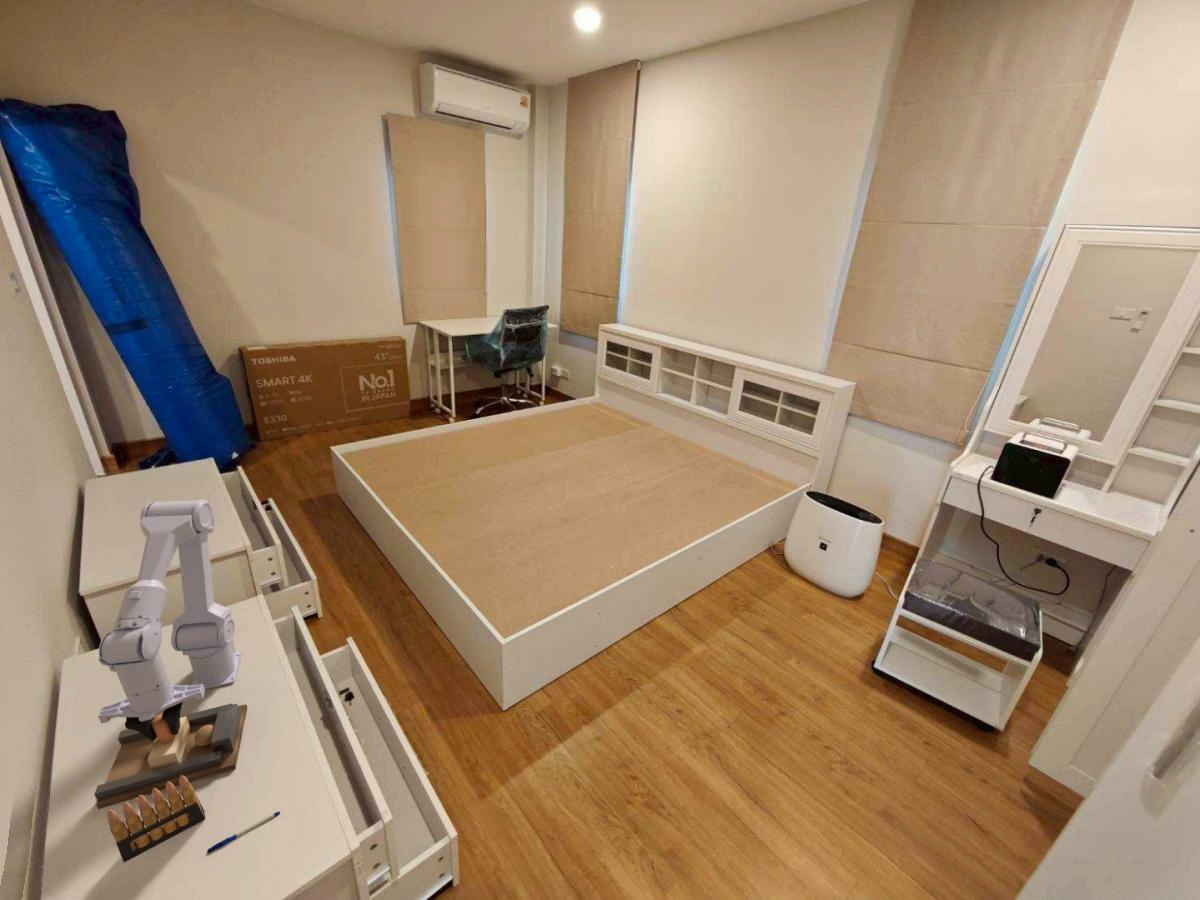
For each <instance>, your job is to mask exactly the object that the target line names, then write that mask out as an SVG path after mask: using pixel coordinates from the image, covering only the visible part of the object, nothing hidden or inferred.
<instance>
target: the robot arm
mask: <svg viewBox="0 0 1200 900" xmlns="http://www.w3.org/2000/svg"><path fill="white" fill-rule="evenodd" d="M139 524H140V528H141V531H142V534H143V535H144V537H145V538H146V540H145V545H144V549H143V553H142V559H141V562H140V568H139V572H138V576H137V581H136V583H134V584H132V585H131V586H129V587H127V589H126V590H125V592H124V596H123V599H122V603H121V605H120V607H119V612H118V613H117V617H116V620H115V623H114V626H113V630H111V631H109V632H107V633H105V635H104V636H103V637H102V639H101V640H100V644H99V646H98V657H99V658H98V662H99V663H100V664H101V665H102V666H106V667H108V668H109V670H110V672H114V673H116V676H117V677H118V680H119V682H120V684H121V687H122V689H123V692H124V694H125V696H126V698H125V699H122V700H120V701H117V702H115V703H112V704H109V705H106V706H102V707H101V709H100V711H99V714H98V715H97V717H98V720H99V721H100V723H101V724H105V723H106V724H107V723H109V722H110V721H111V719H115V718H125V722H124V727H125V728H126V730H128V729H131V730H135V731H138V732H140V733H142V734H143V735H145V736H146V737H147V738H149V739H150V740H151V741H154V740H156V738H157V736H156V734H155V731H154V729H153V726H152V724H151V722H152V720H153V719H154V718H155V717H156V715H157V714H159V713H160V712H162V713H161V714H162V717H161V718H162V719H163V720H164V721H165V722H166V723H167V724H168V726H169V728H170V731H171V734H172V735H177V734H178V732H179V728H180V716H181V711H182V706H183V705H184V704H183V703H184V702H185V701H189V700H192V699H195V701H199V700H203V699H204V697H205V694H206V693H205V692H206V690H208V689H212V688H217V687H221V686H226V685H229V684H233V683H234V682H235V681H236V676H237V672H238V668H239V666H240V665H239V663H240V660H241V655H242V651H241V650H237V651H236V648H235V644H234V639H233V638H234V636H235V630H236V625H235V621H234V619H233V617H232V612H231V608H229V607H226V606H223V605H222V604H219V603H216V602H215V597H214V587H213V578H212V567H211V555H210V546H209V534H212V533H214V532H215V517H214V507H213V505H212V504H211V503H210V502H209V501H207V500H206V499H202V498H201V499H197V500H194V499H193V500H175V501H174V500H173V501H172V500H171V501H170V500H169V501H155V500H154V501H152V500H151V501H148V502H147V503H146V504H145V505H144V507H143V508H142V509H141V512H140V523H139ZM177 548H178V549H177ZM177 550H178V558H179V569H180V578H181V586H182V595H183V596H182V597H183V603H184V604H183V605H184V610H183V611H182V612H181V613H179V614H178V615H177V616H176V617H175V618H174V619H173V621H172V632H171V635H170V644H171V647H172V648H173V649H174V651H176V652H182V655H183V656H187V657H188V660H189V663H190V666H191V669H192V673H193V675H194V678H193V681H192V684H191V685H183V684H181V685H176V684H175V685H173V684H171V681H170V680H169V677H168V674H167V672H166V669H165V666H164V663H163V661H162V658H161V655H160V653H159V650H160V648H161V645H162V641H163V635H162V634H163V633H162V628H163V622H161V618H162V617H161V616H162V614H163V613H162V612H163V609H164V606H165V603H166V600H167V599H166V598H167V596H168V593H169V590H168V589H167V587H166V586H165V585H164V581H165V579H166V576H167V574H168V571H169V568H170V566H171V563H172V561H173V558H174V556H175V554H176V551H177Z"/></svg>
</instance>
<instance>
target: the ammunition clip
mask: <svg viewBox="0 0 1200 900" xmlns="http://www.w3.org/2000/svg"><path fill="white" fill-rule="evenodd" d="M179 784H180V785H179V788H180V792H181V793H179V792H178V789H177V788H176V786H174V785H173V784H172V783H171V782H167V783H166V789H165V791H166V795H167V799H165V797H164V795H163V793H162V791H159V790H158V789H156V788H153V790H152V793H151V799H152V801H153V806H154V807H153V806H152V805H151V803H150V802H149V801H148V799H147V798H146V797H145V796H143V795H139V796H138V798H137V806H138V809H139V812H140V814H139V813H137V812H136V810H135V809H134V807H133V805H131V804H130V803H129V802H127V801H124V802H122V807H121V809H122V813H123V816H124V819H125V821H123V820H122V818H121V817H120V816H119V814H118V813H117V812H116V811H115V810H113V809H111V808H110V809H108V810H107V812H106V818H107V822H108V824H109V827H110V828H109V829H110V833H111V834H112V836H113V839H114V840H115V842H116V847H117V849H118V852H119V854H120V856H121V860H122V862H123V863H126V862H128V861H131V859H133V858H136V857H137V856H139V855H141V854H143V853H145V852H147V851H149V850H150V849H153V848H155V847H156V846H158V845H160V844H162V843H164V842H166V841H168V840H170V839H171V838H174V837H176V836H177V835H179V834H181V833H183V832H185V831H186V830H190V828H192V827H195V826H196V825H198V824H200V823H202V822H204V821H205V819H206V814H205V809H204V807H203V805H202V804H201V802H200V800H199V798H198V795H197V794H196V791H195V789H194V787H193V786H192V785H191V782H189V781H188V779H187V778H186V777H185V776H183V775H181V776H180V778H179Z"/></svg>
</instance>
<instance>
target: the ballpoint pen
mask: <svg viewBox="0 0 1200 900" xmlns="http://www.w3.org/2000/svg"><path fill="white" fill-rule="evenodd" d="M280 814H281V812H280V811H276V812H274V813H272V814H270V815H269V816H266V817H264V818H262V819H261V820H260V821H258V822H256V823H254V824H252V825H250V826H248V827H247V828H245V829H243V830H241V831H239V832H237V833H235V834H233V835H232V836H229V837H227V838H225V839H223V840H221V841H219V842H217V843H216V844H214V845H213V846H211V847H210V848H207V851H206V854H211V853H213V852H215V851H216V850H219V849H221V848H222V847H224V846H226V845H227V844H229V843H231V842H233V841H234V840H237V838H239V837H241V836H244V835H245V834H247V833H249V832H250V831H252V830H254V829H256V828H257V827H259V826H261V825H263V824H265V823H267V822H268V821H270V820H272V819H273V818H274V819H275V817H277V816H278V815H280Z"/></svg>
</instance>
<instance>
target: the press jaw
mask: <svg viewBox="0 0 1200 900" xmlns="http://www.w3.org/2000/svg"><path fill="white" fill-rule="evenodd" d="M162 714H163V713H160V714H159V715H155V716H154V719H153V720H152V722H151V724H152V726H153V729H154V731H155V734H156V736H157V738H156V740H154V743H153V746H152V749H151V751H150V754H149V757H148V760H147V761H148V763H149V765H150V768H151V770H154V769H158V768H161V767H165V766H168V765H172V764H175V763H179V762H181V759H182V756H183V753H184V749H185V746H186V742H187V739H188V736H189V732H190V729H191V728H190V725H189V723H188V720H187V717H186V716H185V717H181V718H180V728H179V732H178V734H177V735H172V734H171V731H170V728H169V726H168V724H167V723H166V722H165V721H164V720H163V719H162V718H161V717H162Z"/></svg>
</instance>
